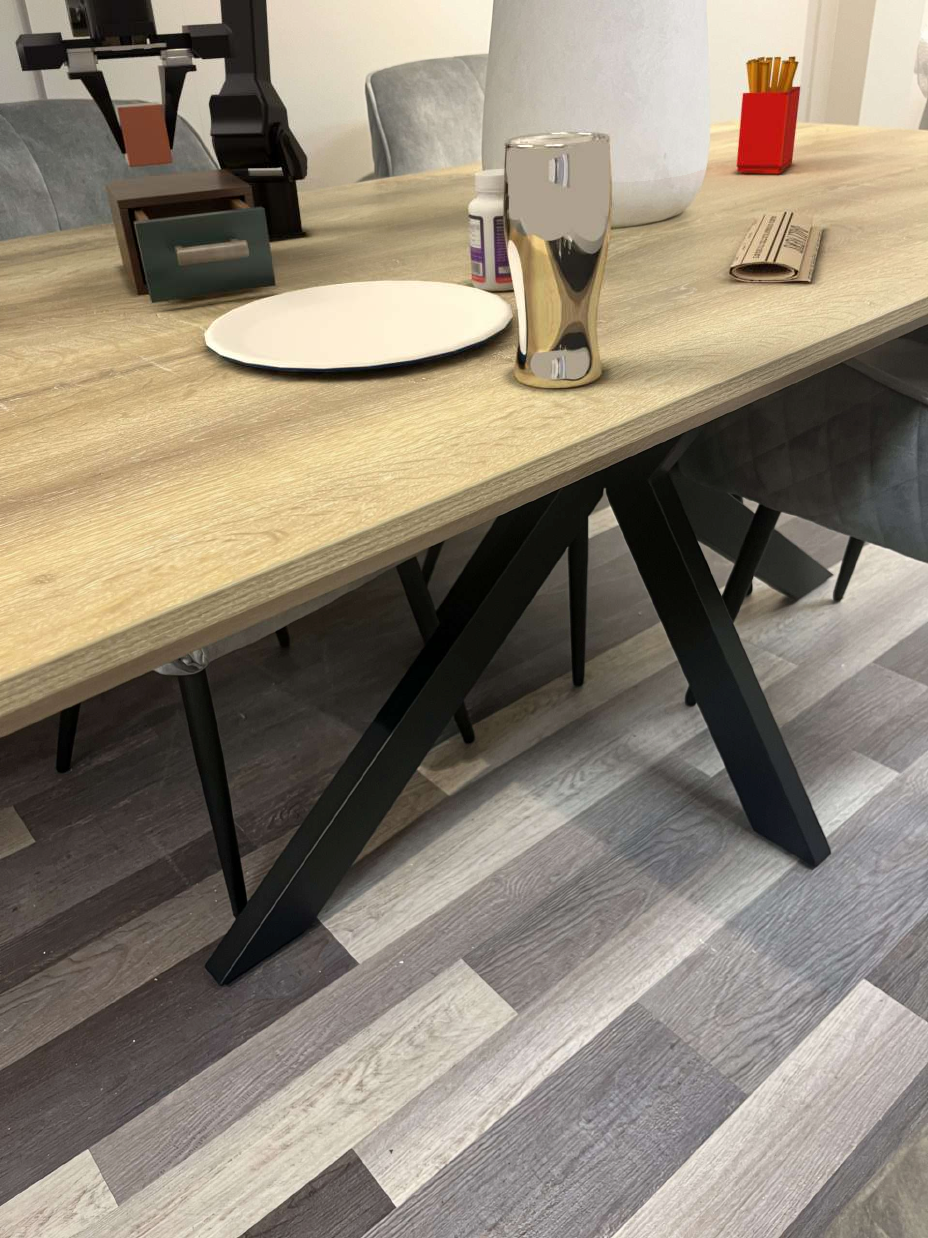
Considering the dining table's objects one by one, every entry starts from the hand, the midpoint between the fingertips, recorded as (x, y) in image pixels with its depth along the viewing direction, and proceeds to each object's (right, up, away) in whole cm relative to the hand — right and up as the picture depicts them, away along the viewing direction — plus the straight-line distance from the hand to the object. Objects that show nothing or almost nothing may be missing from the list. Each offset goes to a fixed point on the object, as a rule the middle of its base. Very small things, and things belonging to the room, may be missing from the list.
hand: (147, 151), depth 95 cm
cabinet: (+2, -8, +10) cm, 13 cm away
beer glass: (+37, -28, -25) cm, 52 cm away
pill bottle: (+34, -14, -2) cm, 36 cm away
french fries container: (+73, +20, +48) cm, 89 cm away
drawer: (+6, -13, 0) cm, 14 cm away
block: (0, -1, +1) cm, 1 cm away
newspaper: (+61, -9, +3) cm, 62 cm away
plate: (+22, -21, -13) cm, 33 cm away
